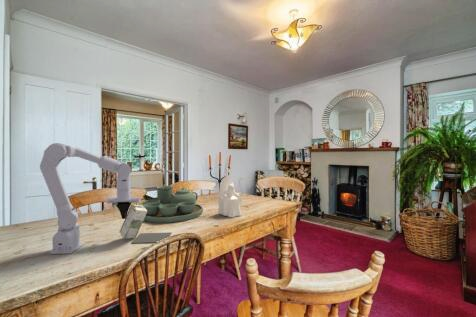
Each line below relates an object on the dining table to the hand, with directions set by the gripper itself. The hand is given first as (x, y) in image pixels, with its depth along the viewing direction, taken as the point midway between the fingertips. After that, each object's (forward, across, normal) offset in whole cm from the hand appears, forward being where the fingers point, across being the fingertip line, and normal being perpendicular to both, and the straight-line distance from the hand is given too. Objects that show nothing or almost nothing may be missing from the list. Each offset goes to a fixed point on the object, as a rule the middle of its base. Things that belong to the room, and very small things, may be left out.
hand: (124, 218), depth 107 cm
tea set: (+10, -13, -42) cm, 46 cm away
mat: (+10, -13, 0) cm, 16 cm away
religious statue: (+10, -53, -39) cm, 67 cm away
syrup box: (+8, -1, 0) cm, 8 cm away
